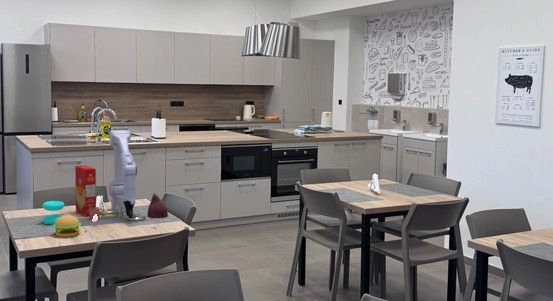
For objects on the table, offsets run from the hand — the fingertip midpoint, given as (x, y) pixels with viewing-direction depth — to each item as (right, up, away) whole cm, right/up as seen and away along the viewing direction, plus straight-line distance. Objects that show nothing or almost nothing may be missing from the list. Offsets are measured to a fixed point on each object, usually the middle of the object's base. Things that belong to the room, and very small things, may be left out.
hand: (129, 215), depth 292 cm
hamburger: (-21, -6, -27) cm, 35 cm away
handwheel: (+3, -2, +2) cm, 4 cm away
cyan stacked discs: (-35, -3, -5) cm, 36 cm away
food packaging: (-25, -2, +11) cm, 28 cm away
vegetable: (+12, -3, +10) cm, 16 cm away
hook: (-12, -1, +3) cm, 12 cm away
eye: (-7, -1, +6) cm, 9 cm away
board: (-9, -3, 0) cm, 9 cm away
